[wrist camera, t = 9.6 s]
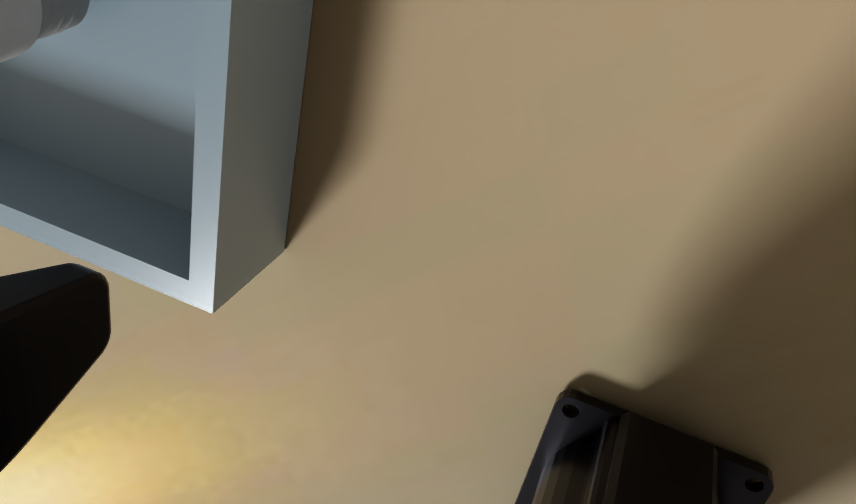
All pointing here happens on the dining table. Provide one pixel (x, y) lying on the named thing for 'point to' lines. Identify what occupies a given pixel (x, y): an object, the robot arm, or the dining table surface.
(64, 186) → the parts tray
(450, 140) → the dining table surface
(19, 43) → the lightbulb
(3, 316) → the robot arm
